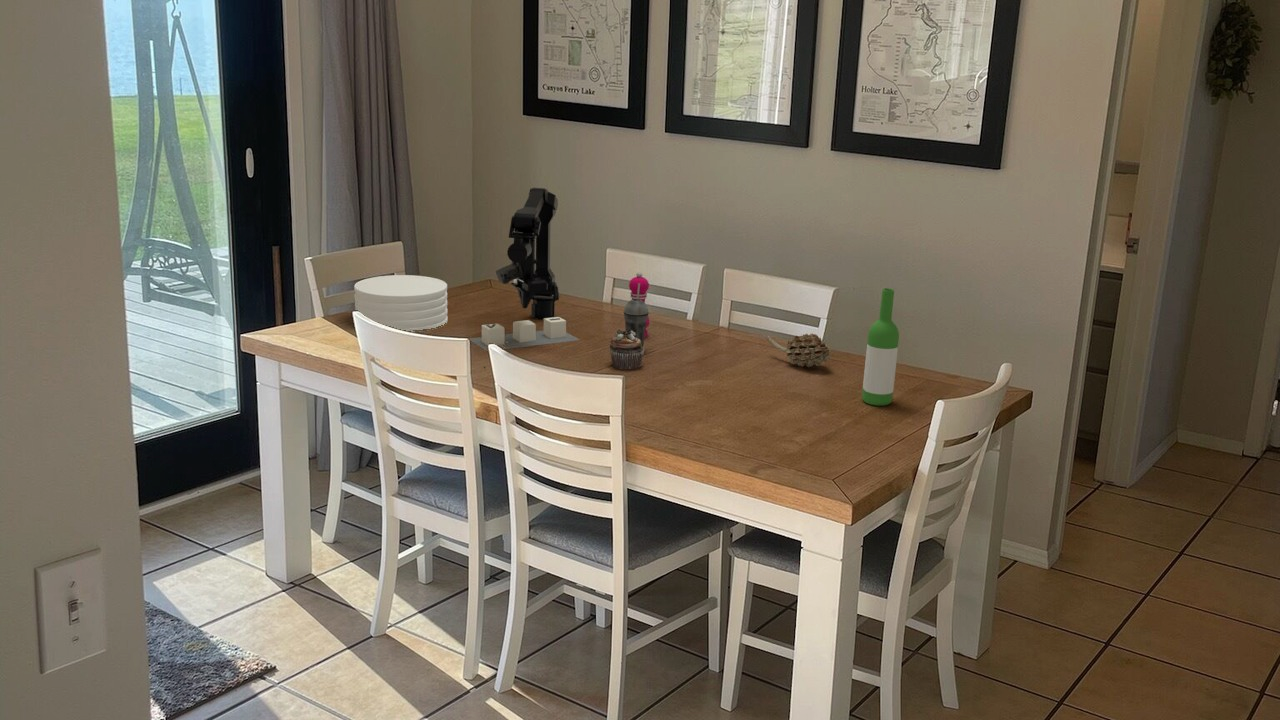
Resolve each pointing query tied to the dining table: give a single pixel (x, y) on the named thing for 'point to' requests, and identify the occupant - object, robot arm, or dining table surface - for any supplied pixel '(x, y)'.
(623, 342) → the cupcake
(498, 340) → the block seven
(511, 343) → the mat
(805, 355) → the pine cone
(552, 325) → the block one
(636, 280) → the pepper mill
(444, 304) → the plate stack
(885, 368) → the wine bottle
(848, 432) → the dining table surface
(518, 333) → the plain block
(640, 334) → the beverage cup
